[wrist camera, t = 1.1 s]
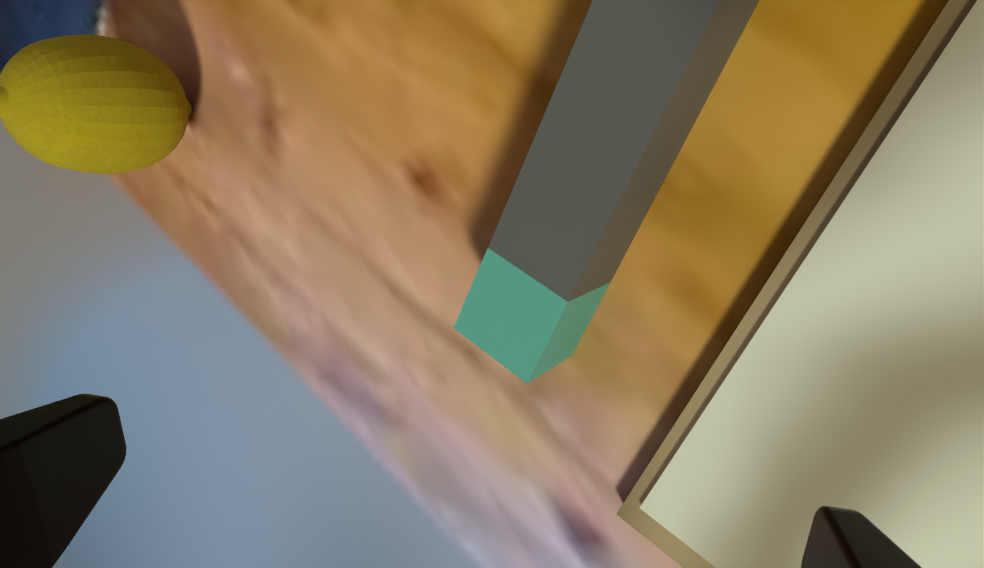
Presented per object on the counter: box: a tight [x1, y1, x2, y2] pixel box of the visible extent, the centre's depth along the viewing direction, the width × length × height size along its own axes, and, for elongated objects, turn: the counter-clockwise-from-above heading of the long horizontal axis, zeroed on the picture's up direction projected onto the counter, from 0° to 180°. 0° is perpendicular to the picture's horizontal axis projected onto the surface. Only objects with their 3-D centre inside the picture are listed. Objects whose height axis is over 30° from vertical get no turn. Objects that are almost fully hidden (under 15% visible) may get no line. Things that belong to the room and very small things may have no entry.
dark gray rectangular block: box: [454, 0, 759, 383], centre depth 20 cm, size 3×12×3 cm, turn 155°
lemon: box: [0, 35, 192, 174], centre depth 28 cm, size 6×6×8 cm
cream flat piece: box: [617, 0, 984, 568], centre depth 16 cm, size 11×19×1 cm, turn 156°
